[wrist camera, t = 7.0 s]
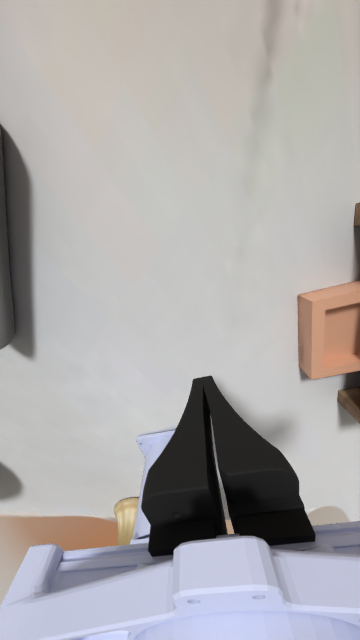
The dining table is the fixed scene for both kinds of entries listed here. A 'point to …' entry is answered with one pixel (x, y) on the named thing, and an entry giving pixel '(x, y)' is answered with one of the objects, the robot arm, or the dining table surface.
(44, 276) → the dining table surface
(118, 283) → the dining table surface
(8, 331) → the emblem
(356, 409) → the wooden block
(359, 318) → the shallow pink tray
